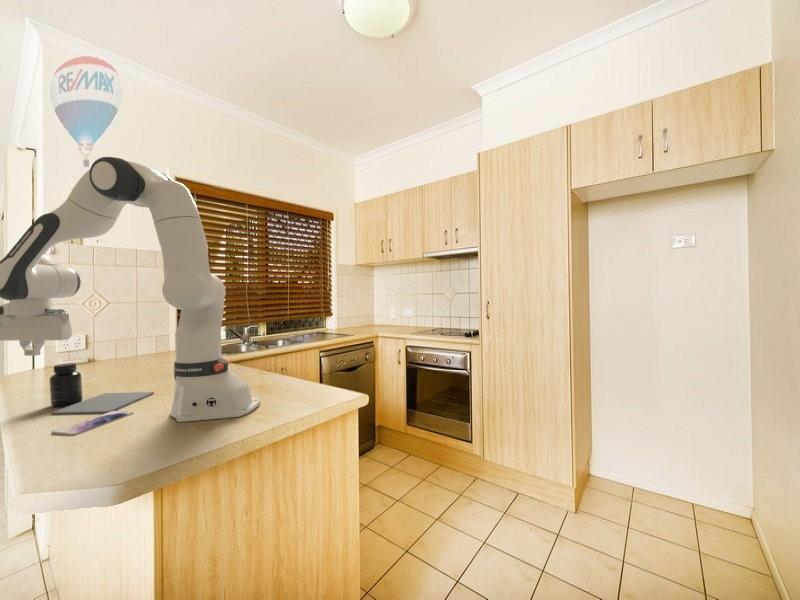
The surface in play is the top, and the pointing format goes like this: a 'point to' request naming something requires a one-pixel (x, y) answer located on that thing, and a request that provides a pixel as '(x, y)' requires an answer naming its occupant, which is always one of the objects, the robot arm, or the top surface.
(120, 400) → the rubber mat
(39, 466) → the top surface
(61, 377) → the supplement bottle
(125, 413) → the smartphone
